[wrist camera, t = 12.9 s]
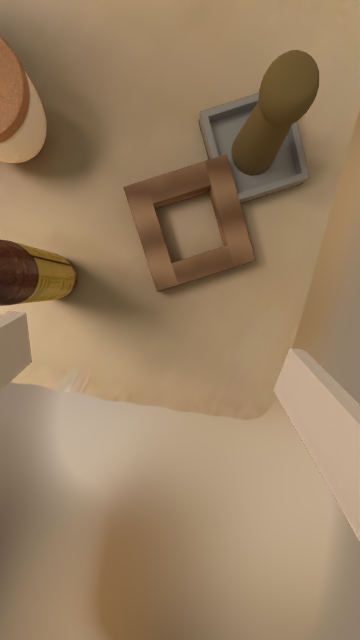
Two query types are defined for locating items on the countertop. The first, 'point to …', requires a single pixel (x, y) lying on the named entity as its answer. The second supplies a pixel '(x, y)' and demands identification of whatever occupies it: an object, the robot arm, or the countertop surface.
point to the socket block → (179, 187)
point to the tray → (219, 138)
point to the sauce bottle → (33, 274)
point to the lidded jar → (19, 111)
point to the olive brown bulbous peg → (276, 111)
